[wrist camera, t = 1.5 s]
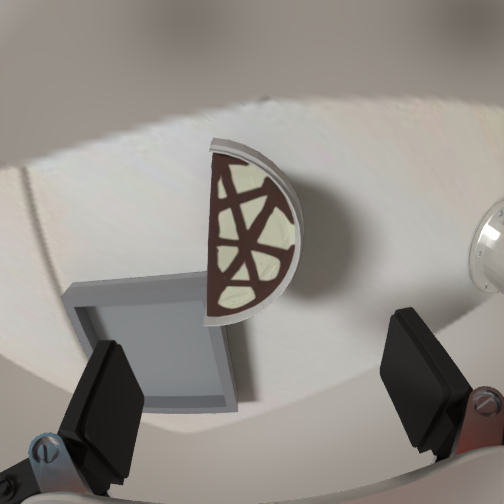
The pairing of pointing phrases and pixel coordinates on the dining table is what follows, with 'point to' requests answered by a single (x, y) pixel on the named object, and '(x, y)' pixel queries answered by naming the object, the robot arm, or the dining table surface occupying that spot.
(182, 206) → the dining table surface
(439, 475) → the robot arm
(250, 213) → the food container
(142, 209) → the dining table surface
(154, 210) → the dining table surface
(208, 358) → the tray
